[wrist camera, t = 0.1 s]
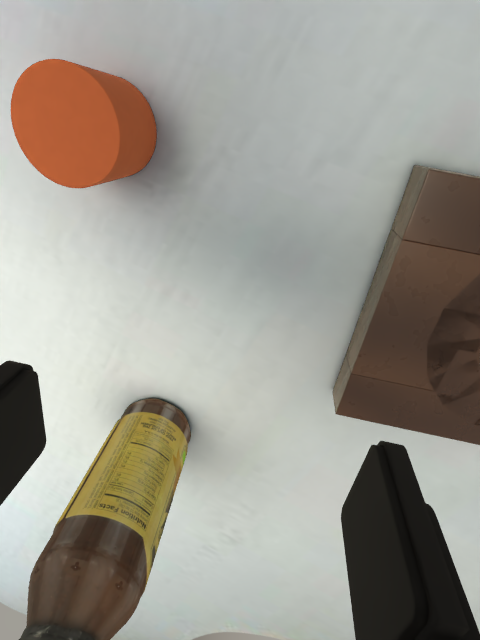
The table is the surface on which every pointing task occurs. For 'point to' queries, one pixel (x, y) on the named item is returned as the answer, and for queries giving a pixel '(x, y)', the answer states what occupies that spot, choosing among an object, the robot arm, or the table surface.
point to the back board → (422, 316)
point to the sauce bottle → (110, 529)
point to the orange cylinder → (81, 123)
